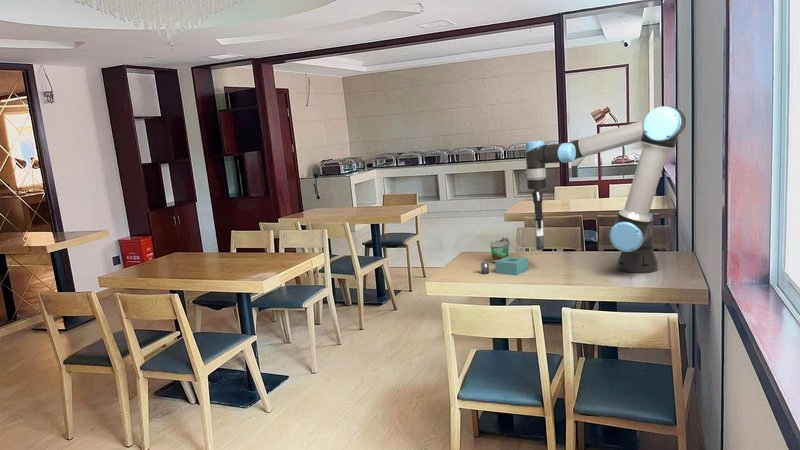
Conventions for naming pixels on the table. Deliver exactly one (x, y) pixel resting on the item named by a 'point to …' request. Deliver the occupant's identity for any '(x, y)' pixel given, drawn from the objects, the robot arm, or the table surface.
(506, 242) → the food container
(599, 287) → the table surface
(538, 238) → the long pin
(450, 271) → the table surface
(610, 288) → the table surface
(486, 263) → the short pin
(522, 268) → the drilled block
